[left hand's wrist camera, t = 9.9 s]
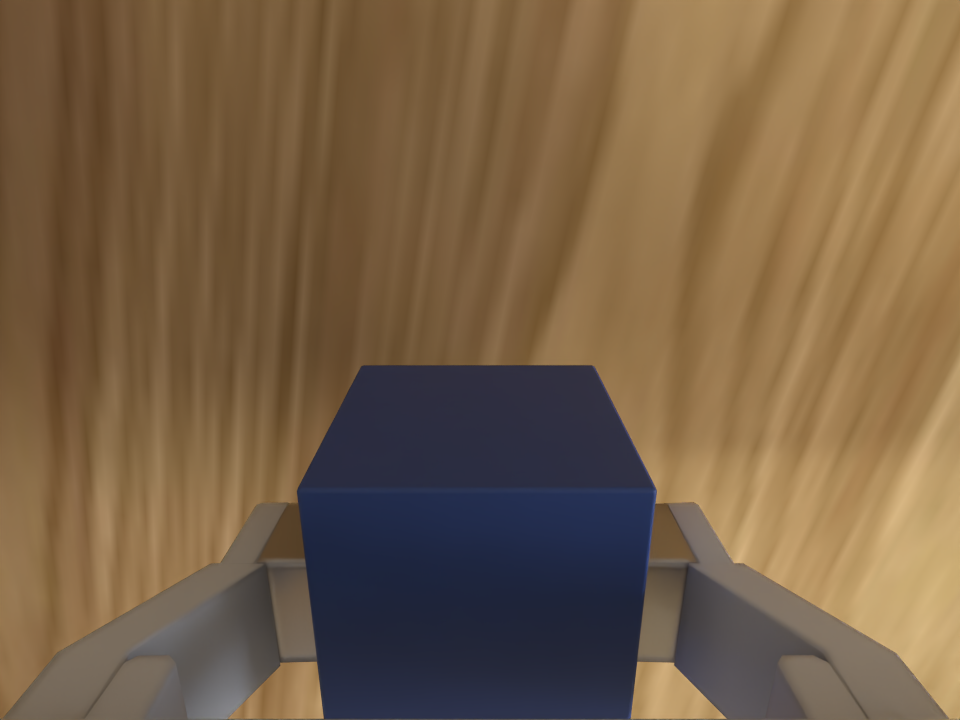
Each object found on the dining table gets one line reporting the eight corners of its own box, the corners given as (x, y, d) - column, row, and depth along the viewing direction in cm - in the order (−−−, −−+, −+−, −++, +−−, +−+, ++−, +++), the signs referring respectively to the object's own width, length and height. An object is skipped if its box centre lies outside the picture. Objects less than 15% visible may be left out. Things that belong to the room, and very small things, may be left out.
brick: (377, 592, 13) (331, 794, 9) (360, 364, 11) (294, 489, 7) (578, 592, 13) (623, 794, 9) (594, 363, 11) (658, 489, 7)
